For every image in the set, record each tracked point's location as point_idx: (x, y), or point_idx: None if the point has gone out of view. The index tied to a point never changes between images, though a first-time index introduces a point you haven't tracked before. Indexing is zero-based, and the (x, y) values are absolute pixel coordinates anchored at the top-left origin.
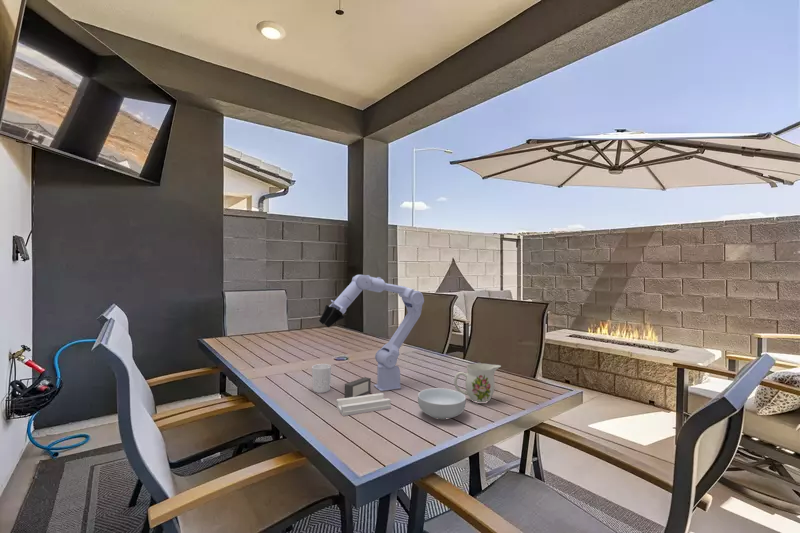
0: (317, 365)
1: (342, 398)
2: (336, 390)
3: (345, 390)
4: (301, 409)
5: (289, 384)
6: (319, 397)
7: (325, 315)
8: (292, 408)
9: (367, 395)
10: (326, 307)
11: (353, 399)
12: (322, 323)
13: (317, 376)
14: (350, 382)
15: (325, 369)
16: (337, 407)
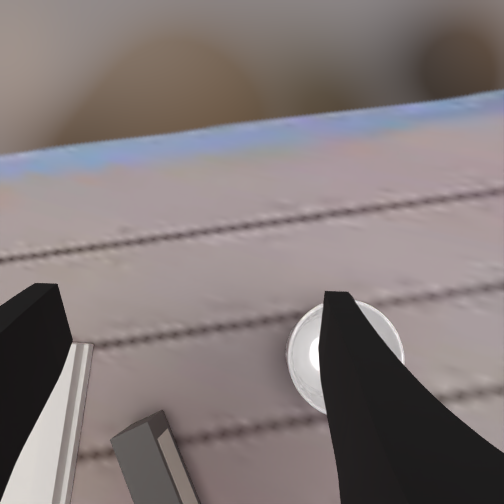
0: (396, 347)
1: (71, 371)
2: (290, 417)
3: (148, 419)
4: (140, 216)
5: (467, 243)
6: (235, 316)
7: (349, 405)
8: (167, 189)
9: (45, 496)
10: (426, 480)
11: (44, 415)
12: (319, 341)
13: (298, 321)
14: (159, 462)
15: (288, 363)
16: (72, 342)
